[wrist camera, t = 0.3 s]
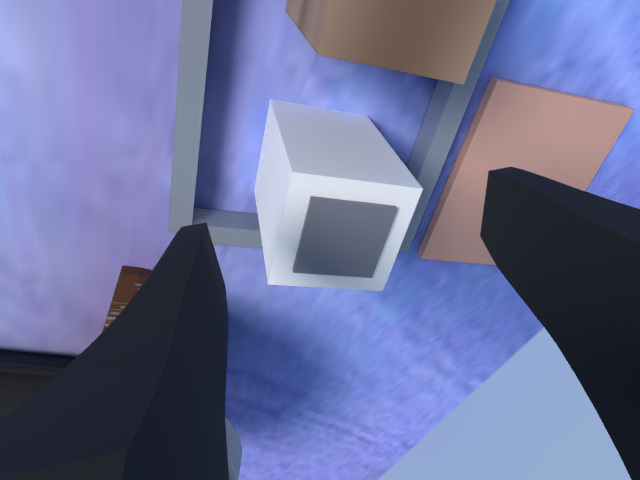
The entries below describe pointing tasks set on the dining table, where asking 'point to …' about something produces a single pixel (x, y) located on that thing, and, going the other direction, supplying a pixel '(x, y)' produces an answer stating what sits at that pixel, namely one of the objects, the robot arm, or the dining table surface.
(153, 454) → the robot arm
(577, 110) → the terracotta mat
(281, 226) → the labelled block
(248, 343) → the dining table surface
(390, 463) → the dining table surface
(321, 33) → the walnut block
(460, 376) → the dining table surface
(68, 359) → the carrying case or bag
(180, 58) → the grey rectangular frame
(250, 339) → the dining table surface
